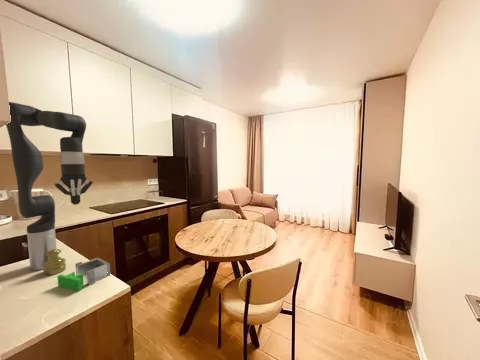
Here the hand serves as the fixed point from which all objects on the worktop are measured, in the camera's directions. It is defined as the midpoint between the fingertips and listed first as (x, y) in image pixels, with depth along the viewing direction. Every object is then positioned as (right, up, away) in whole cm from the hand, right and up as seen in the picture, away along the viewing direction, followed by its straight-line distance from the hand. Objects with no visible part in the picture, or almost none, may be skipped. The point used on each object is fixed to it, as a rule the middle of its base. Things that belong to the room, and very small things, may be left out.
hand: (75, 204), depth 84 cm
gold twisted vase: (-14, -31, +5) cm, 34 cm away
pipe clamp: (+4, -32, -6) cm, 33 cm away
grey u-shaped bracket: (+6, -31, +1) cm, 32 cm away
